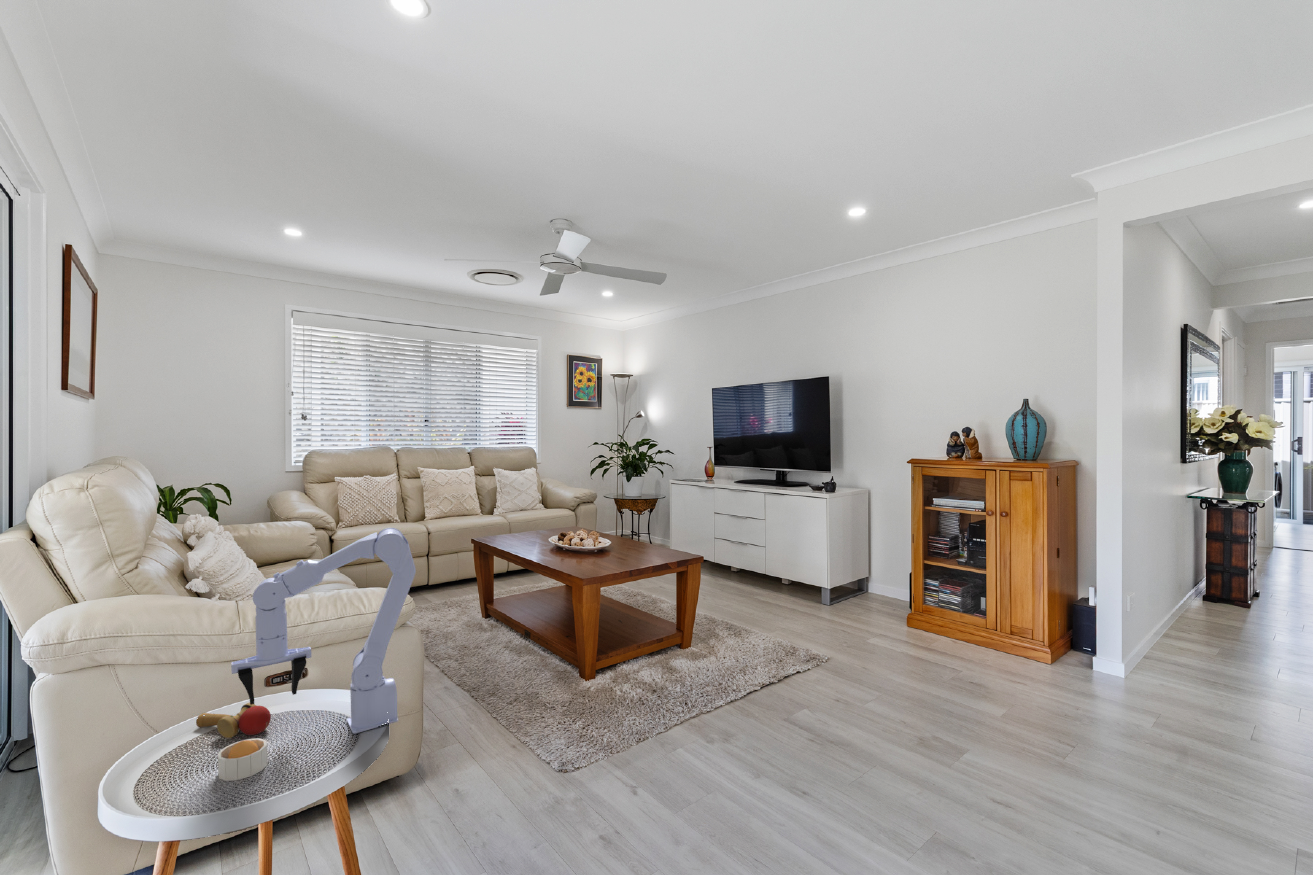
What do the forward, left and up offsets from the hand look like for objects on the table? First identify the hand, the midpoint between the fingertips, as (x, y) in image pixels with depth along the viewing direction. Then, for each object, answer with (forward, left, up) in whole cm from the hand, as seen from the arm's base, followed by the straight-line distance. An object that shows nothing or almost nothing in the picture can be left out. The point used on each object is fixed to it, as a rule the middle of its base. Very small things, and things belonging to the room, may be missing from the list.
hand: (273, 697), depth 132 cm
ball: (+6, +9, -6) cm, 13 cm away
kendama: (+7, -11, -10) cm, 17 cm away
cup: (+6, +9, -9) cm, 14 cm away
